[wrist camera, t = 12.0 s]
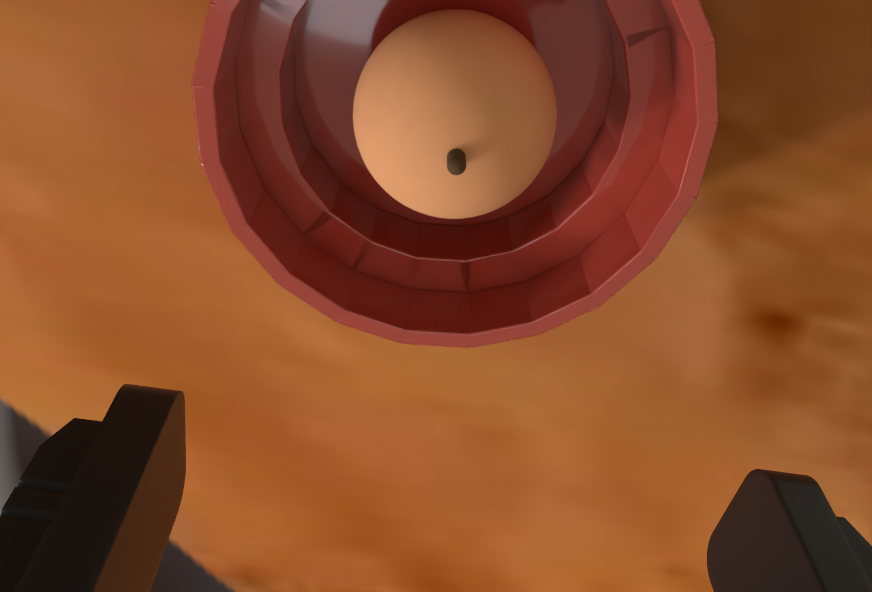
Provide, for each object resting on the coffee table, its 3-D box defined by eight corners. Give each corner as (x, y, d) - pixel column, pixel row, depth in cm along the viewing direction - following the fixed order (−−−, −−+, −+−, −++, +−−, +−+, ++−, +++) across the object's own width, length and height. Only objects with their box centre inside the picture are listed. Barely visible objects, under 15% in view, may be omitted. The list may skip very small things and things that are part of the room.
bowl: (161, 103, 26) (100, 170, 21) (424, -298, 20) (419, -325, 15) (470, 321, 31) (475, 413, 26) (757, 54, 25) (828, 114, 20)
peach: (325, 95, 25) (292, 181, 19) (442, -56, 23) (443, -6, 17) (462, 200, 27) (467, 306, 22) (582, 73, 25) (624, 156, 19)
